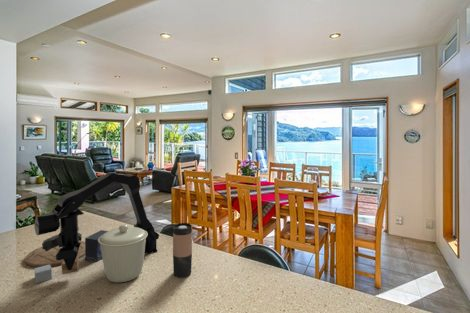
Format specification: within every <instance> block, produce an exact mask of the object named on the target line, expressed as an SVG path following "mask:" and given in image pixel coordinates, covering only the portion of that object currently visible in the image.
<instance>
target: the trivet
mask: <svg viewBox="0 0 470 313" xmlns="http://www.w3.org/2000/svg"><path fill="white" fill-rule="evenodd" d="M79 242H80V243H81V244H80V247H79V250H78V254H77V256H79V260H80V259H81V258H84V257H85V241H83V240H81V241H79ZM79 242H78V243H79ZM42 248H43V246H40V247H38V248H35V249H33V250H31V251H30V252H28V253H27V255H26V256H25V258H24V260H25V264H26V266H29V267H31V268H38V267H42V266H46V265H50V266H51V268H53V267H59V266H62V262H63V260H64V259H63V260H56V254H57V252H58V250H59V249H60V248H62V247H59V245H58V246H57V247H54V248H52V249H50V250H49V251H45V249H42Z"/></svg>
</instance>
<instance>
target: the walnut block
mask: <svg viewBox="0 0 470 313" xmlns="http://www.w3.org/2000/svg"><path fill="white" fill-rule="evenodd" d="M79 268H80V259H79V256H77V257H76V259H75V262H74V264H73V267H72V269H71V270H68V269H67V266H66V264H65V261H64V260H63V262H62V265H61V275H67V274H72V273H76V272H78V271H79Z"/></svg>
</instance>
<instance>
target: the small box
mask: <svg viewBox="0 0 470 313" xmlns="http://www.w3.org/2000/svg"><path fill="white" fill-rule="evenodd" d="M108 231H109V230H103V229H100V230H99V231H97V232H95V233H93V234H90V235H88V236H86V237H85V238H84V240H85V241H84V242H85V256H84V258H85V259H84V260H85V261H88V262H96V263H97V262H98V261H101V260H103V259H102V252H101V245H100V243H99V242H98V239H99V237H100V236H102V235H103V234H105V233H106V232H108Z"/></svg>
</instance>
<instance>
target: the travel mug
mask: <svg viewBox="0 0 470 313" xmlns="http://www.w3.org/2000/svg"><path fill="white" fill-rule="evenodd" d="M192 227H193V226H192V224H191V223H187V222H180V223H176V224H174V225H173V226H172V240H173V241H172V259H173V260H172V262H173V263H172V266H173V267H172V268H173V276H174V277H175V278H178V279H181V278H187V277H189V276H191V274H192V265H193V263H192V260H193V257H192V256H193V228H192Z"/></svg>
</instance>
